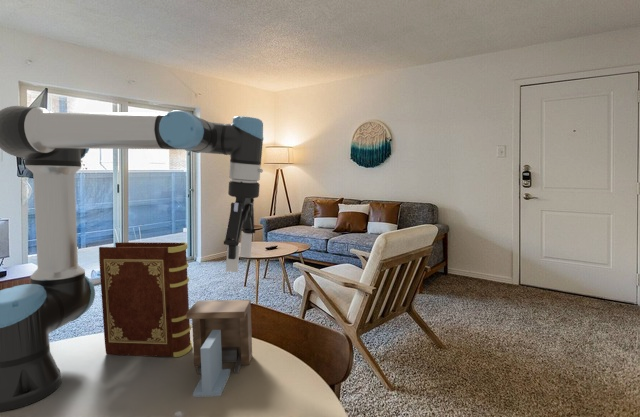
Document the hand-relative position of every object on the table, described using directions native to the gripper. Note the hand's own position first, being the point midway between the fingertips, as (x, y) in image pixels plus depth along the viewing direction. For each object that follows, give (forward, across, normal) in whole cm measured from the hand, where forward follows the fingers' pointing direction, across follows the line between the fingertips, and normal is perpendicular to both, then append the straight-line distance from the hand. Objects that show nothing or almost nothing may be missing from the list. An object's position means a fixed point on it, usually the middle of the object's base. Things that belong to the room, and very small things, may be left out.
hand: (239, 263), depth 97 cm
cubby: (+26, -3, +2) cm, 26 cm away
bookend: (+26, -12, +1) cm, 29 cm away
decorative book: (+29, +5, +24) cm, 38 cm away
